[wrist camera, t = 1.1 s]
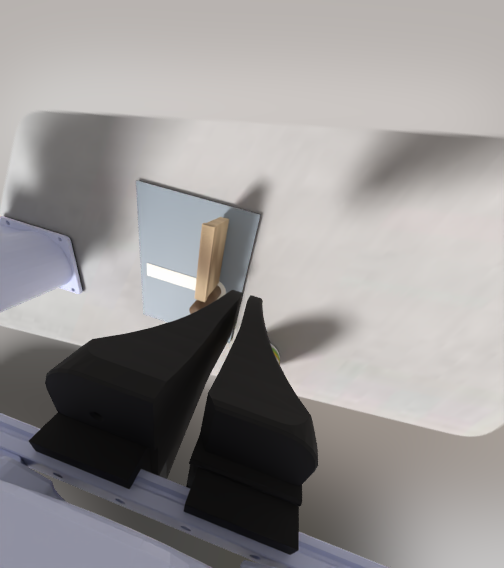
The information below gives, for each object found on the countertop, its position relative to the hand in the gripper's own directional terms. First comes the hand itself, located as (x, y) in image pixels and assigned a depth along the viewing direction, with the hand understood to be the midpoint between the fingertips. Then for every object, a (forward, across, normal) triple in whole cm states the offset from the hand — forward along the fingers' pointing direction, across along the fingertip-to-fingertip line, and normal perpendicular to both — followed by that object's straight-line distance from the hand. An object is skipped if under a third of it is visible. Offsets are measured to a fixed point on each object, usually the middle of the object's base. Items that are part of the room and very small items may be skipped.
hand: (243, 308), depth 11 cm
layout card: (+9, +8, +4) cm, 13 cm away
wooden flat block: (+9, +5, +1) cm, 10 cm away
